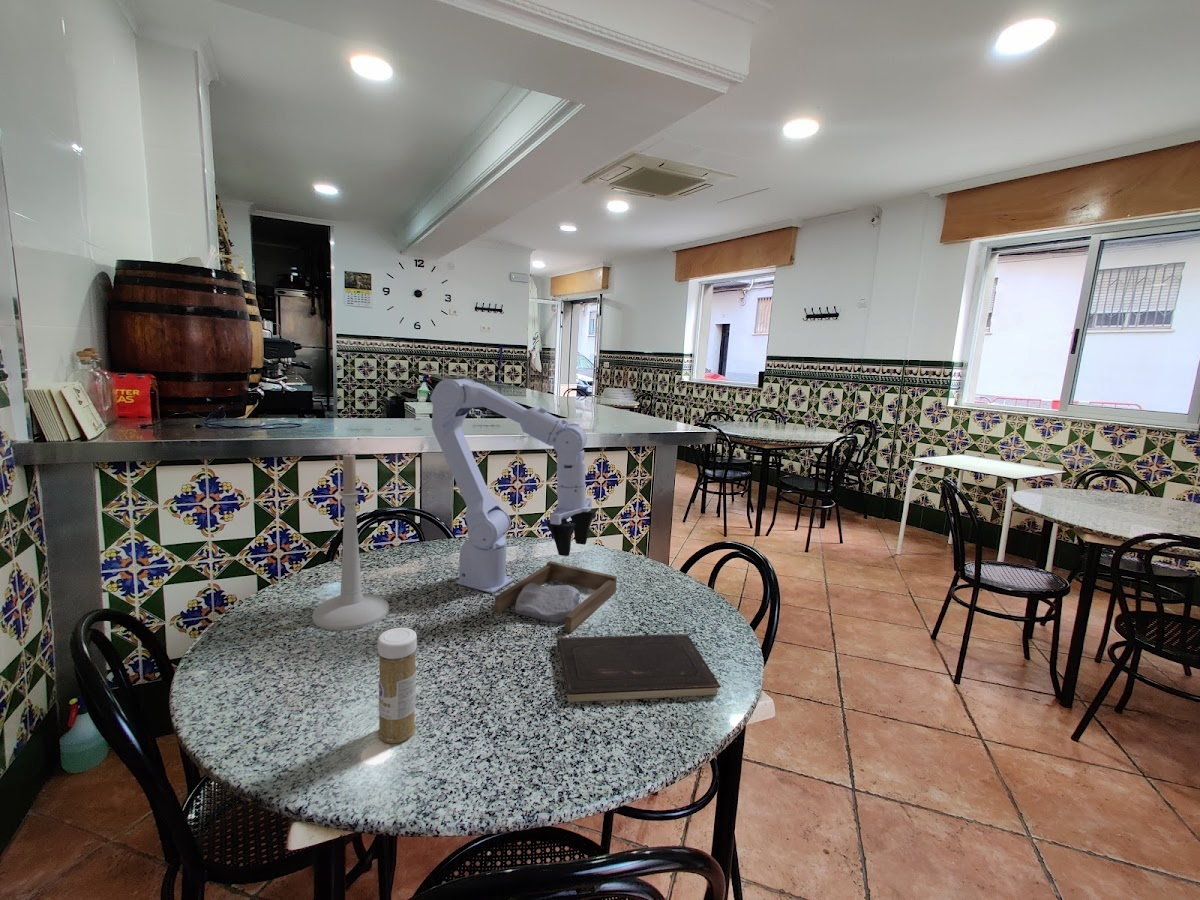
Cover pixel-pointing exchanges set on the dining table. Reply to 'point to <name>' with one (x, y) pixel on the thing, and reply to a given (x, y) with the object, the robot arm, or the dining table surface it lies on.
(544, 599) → the stone block
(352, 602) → the candlestick
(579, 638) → the hardcover book
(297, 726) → the dining table surface
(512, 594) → the shelf lane
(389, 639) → the sprinkles bottle
